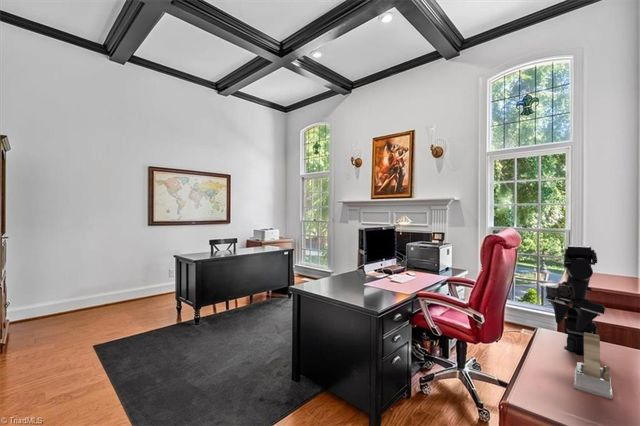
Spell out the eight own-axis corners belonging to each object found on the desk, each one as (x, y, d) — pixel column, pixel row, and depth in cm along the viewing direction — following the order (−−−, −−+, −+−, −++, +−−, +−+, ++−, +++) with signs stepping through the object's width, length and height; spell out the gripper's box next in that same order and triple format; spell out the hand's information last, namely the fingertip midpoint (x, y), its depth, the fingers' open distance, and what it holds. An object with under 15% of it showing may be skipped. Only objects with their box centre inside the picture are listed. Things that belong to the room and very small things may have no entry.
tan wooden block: (584, 374, 93) (583, 332, 93) (599, 378, 91) (599, 335, 91) (584, 380, 90) (583, 336, 90) (600, 385, 87) (599, 339, 87)
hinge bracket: (575, 369, 98) (575, 353, 98) (610, 378, 93) (609, 361, 93) (573, 388, 88) (573, 370, 88) (612, 399, 82) (612, 380, 82)
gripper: (536, 272, 113) (526, 313, 112) (573, 277, 95) (562, 326, 93) (567, 281, 112) (557, 322, 111) (611, 288, 94) (600, 338, 92)
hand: (567, 326), depth 102 cm, fingers open, 9 cm apart
